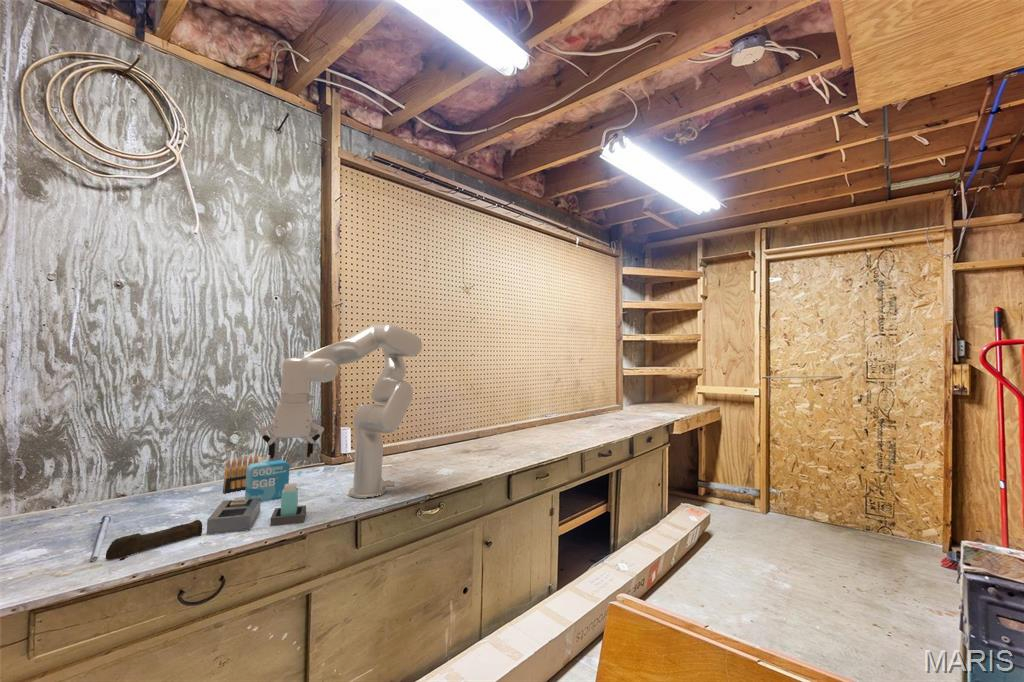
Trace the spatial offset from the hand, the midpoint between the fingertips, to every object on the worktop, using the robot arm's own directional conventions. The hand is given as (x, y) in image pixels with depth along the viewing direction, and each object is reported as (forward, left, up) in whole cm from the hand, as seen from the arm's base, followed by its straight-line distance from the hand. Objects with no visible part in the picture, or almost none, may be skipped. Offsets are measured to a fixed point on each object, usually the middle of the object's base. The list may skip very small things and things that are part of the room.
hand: (290, 456), depth 127 cm
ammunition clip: (+19, -35, -19) cm, 44 cm away
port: (+14, -2, -18) cm, 23 cm away
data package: (+9, -22, -19) cm, 30 cm away
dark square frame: (0, 0, -18) cm, 18 cm away
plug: (0, 0, -18) cm, 18 cm away
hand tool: (+28, +10, -19) cm, 35 cm away
